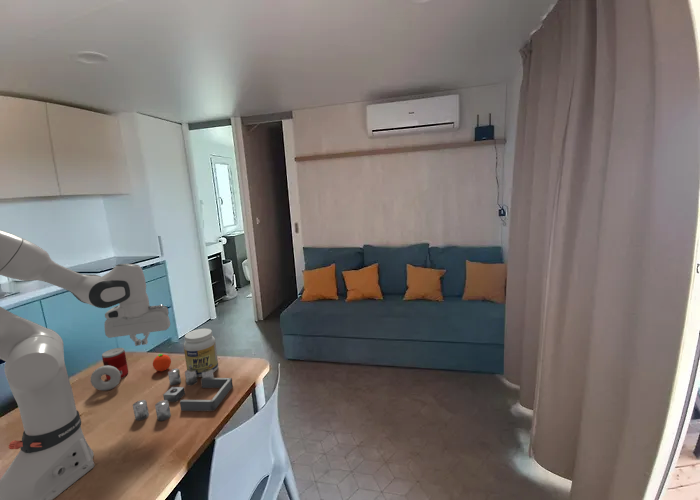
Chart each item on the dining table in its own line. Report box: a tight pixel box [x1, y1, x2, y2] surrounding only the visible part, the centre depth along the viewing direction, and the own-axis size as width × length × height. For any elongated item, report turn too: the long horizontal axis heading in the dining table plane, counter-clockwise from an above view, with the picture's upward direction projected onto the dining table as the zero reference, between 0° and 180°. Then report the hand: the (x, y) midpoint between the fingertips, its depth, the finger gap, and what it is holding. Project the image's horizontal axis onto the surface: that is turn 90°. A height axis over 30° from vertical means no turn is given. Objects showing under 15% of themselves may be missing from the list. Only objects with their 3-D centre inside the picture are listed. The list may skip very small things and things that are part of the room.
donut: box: [90, 365, 122, 392], centre depth 137 cm, size 10×4×10 cm, turn 108°
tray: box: [179, 377, 234, 412], centre depth 128 cm, size 15×12×4 cm
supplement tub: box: [183, 328, 219, 378], centre depth 146 cm, size 12×12×17 cm
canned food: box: [101, 347, 129, 381], centre depth 147 cm, size 8×8×11 cm
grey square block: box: [162, 386, 186, 403], centre depth 129 cm, size 5×5×3 cm
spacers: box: [132, 368, 215, 422], centre depth 128 cm, size 25×18×5 cm
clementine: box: [152, 353, 172, 372], centre depth 150 cm, size 8×7×7 cm
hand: (141, 344), depth 127 cm, fingers closed
